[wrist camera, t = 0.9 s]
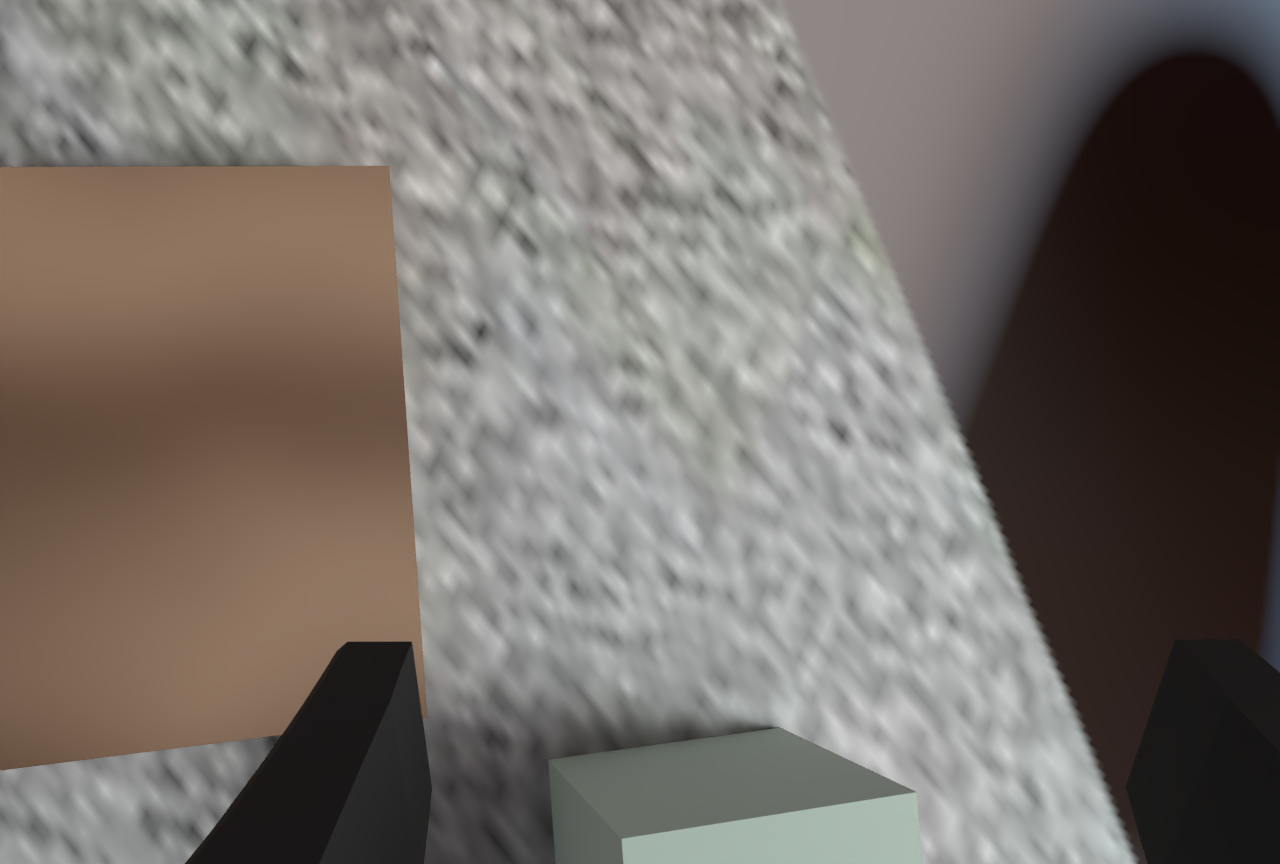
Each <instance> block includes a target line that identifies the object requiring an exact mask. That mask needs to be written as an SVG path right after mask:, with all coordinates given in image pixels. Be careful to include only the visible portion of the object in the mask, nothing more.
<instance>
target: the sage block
mask: <svg viewBox="0 0 1280 864" xmlns="http://www.w3.org/2000/svg"><path fill="white" fill-rule="evenodd" d="M548 765H549V779H550V793H551V807H552V821H553V835H554V849H555V863H556V864H923V861H922V850H921V838H920V826H919V814H918V803H917V792H915V791H913V790H911V789H909V788H907V787H905V786H903V785H900V784H898V783H896V782H894V781H892V780H890V779H888V778H886V777H884V776H881V775H879V774H877V773H875V772H873V771H871V770H869V769H867V768H865V767H862V766H860V765H858V764H856V763H854V762H852V761H850V760H848V759H845V758H843V757H841V756H839V755H837V754H835V753H833V752H831V751H829V750H826V749H824V748H822V747H820V746H818V745H816V744H814V743H812V742H810V741H807V740H805V739H803V738H801V737H799V736H797V735H795V734H793V733H790V732H788V731H786V730H784V729H782V728H773V729H766V730H759V731H751V732H744V733H737V734H730V735H722V736H715V737H708V738H701V739H693V740H686V741H679V742H672V743H664V744H657V745H650V746H643V747H635V748H628V749H621V750H614V751H606V752H599V753H592V754H584V755H577V756H570V757H563V758H555V759H548Z"/></svg>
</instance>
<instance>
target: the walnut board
mask: <svg viewBox="0 0 1280 864" xmlns="http://www.w3.org/2000/svg"><path fill="white" fill-rule="evenodd" d="M400 641H412V645H413V653H414V660H415V667H416V675H417V682H418V690H419V697H420V705H421V712H422V717H427V710H426V695H425V681H424V666H423V652H422V637H421V623H420V608H419V594H418V579H417V565H416V550H415V536H414V521H413V507H412V493H411V478H410V464H409V449H408V435H407V420H406V406H405V391H404V377H403V362H402V348H401V333H400V319H399V304H398V290H397V276H396V261H395V247H394V232H393V218H392V203H391V189H390V174H389V166H188V167H0V770H7V769H15V768H23V767H30V766H38V765H46V764H54V763H62V762H70V761H78V760H86V759H94V758H102V757H110V756H118V755H126V754H133V753H141V752H149V751H157V750H165V749H173V748H181V747H189V746H197V745H205V744H213V743H221V742H229V741H236V740H244V739H252V738H260V737H268V736H276V735H282V734H283V733H284V731H285V730H286V728H287V727H288V725H289V724H290V723H291V721H292V720H293V718H294V717H295V715H296V714H297V712H298V711H299V709H300V708H301V706H302V705H303V703H304V702H305V700H306V699H307V697H308V696H309V694H310V693H311V691H312V689H313V688H314V686H315V685H316V683H317V682H318V680H319V679H320V677H321V675H322V674H323V672H324V671H325V669H326V667H327V666H328V664H329V663H330V661H331V659H332V658H333V656H334V655H335V653H336V651H337V650H338V649H339V648H341V647H342V646H343V645H344V644H345V643H346V642H400Z"/></svg>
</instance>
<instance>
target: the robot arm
mask: <svg viewBox="0 0 1280 864" xmlns="http://www.w3.org/2000/svg"><path fill="white" fill-rule="evenodd" d="M1126 789H1127V792H1128V797H1129V800H1130V804H1131V807H1132V810H1133V814H1134V818H1135V822H1136V825H1137V828H1138V832H1139V836H1140V839H1141V843H1142V846H1143V849H1144V852H1145V856H1146V859H1147V862H1148V864H1280V673H1279V672H1278V671H1277V670H1276V669H1275V668H1273V667H1272V666H1271V665H1270V664H1269V663H1268V662H1266V661H1265V660H1264V659H1263V658H1262V657H1260V656H1259V655H1258V654H1257V653H1255V652H1254V651H1253V650H1252V649H1251V648H1249V647H1248V646H1247V645H1246V644H1245V643H1243V642H1242V641H1241V640H1239V639H1234V640H1233V639H1230V640H1229V639H1225V640H1224V639H1223V640H1222V639H1218V640H1217V639H1213V640H1212V639H1208V640H1207V639H1206V640H1175V641H1174V644H1173V647H1172V650H1171V653H1170V656H1169V660H1168V662H1167V665H1166V668H1165V671H1164V674H1163V677H1162V680H1161V683H1160V686H1159V689H1158V692H1157V695H1156V698H1155V701H1154V704H1153V707H1152V710H1151V713H1150V716H1149V719H1148V722H1147V725H1146V728H1145V731H1144V734H1143V737H1142V740H1141V743H1140V746H1139V749H1138V752H1137V755H1136V758H1135V761H1134V764H1133V767H1132V770H1131V773H1130V776H1129V779H1128V781H1127V785H1126ZM431 792H432V787H431V779H430V772H429V764H428V757H427V749H426V742H425V735H424V727H423V720H422V712H421V705H420V697H419V690H418V682H417V675H416V667H415V660H414V653H413V645H412V641H400V642H346V643H345V644H344V645H343V646H342V647H341V648H339V649H338V650H337V651H336V653H335V655H334V656H333V658H332V659H331V661H330V663H329V664H328V666H327V667H326V669H325V671H324V672H323V674H322V675H321V677H320V679H319V680H318V682H317V683H316V685H315V686H314V688H313V689H312V691H311V693H310V694H309V696H308V697H307V699H306V700H305V702H304V703H303V705H302V706H301V708H300V709H299V711H298V712H297V714H296V715H295V717H294V718H293V720H292V721H291V723H290V724H289V725H288V727H287V728H286V730H285V731H284V733H283V734H282V736H281V737H280V738H279V740H278V741H277V743H276V744H275V746H274V747H273V749H272V750H271V751H270V753H269V754H268V756H267V757H266V759H265V760H264V761H263V763H262V764H261V765H260V767H259V768H258V769H257V771H256V772H255V773H254V775H253V776H252V777H251V779H250V780H249V782H248V783H247V784H246V786H245V787H244V788H243V790H242V791H241V792H240V794H239V795H238V796H237V798H236V799H235V800H234V802H233V803H232V804H231V806H230V807H229V808H228V810H227V811H226V813H225V814H224V815H223V817H222V818H221V819H220V821H219V822H218V823H217V824H216V826H215V827H214V828H213V830H212V831H211V832H210V834H209V835H208V836H207V837H206V839H205V840H204V841H203V842H202V844H201V845H200V846H199V847H198V848H197V850H196V851H195V852H194V853H193V854H192V856H191V857H190V858H189V859H188V861H187V862H186V863H185V864H423V863H424V855H425V847H426V838H427V829H428V820H429V811H430V802H431Z"/></svg>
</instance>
